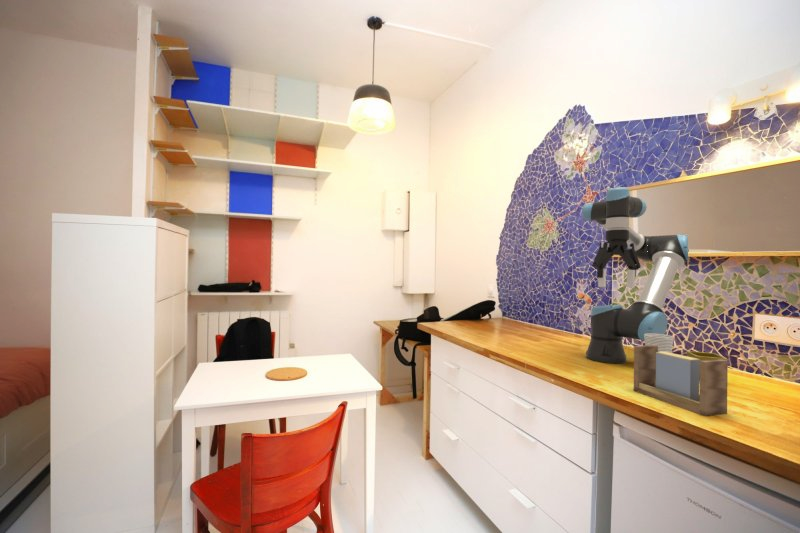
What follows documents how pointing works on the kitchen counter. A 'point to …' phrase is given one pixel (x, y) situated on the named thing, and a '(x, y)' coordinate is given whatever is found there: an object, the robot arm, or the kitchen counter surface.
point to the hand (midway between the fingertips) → (616, 287)
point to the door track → (709, 398)
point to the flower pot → (704, 357)
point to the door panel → (678, 374)
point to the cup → (659, 341)
